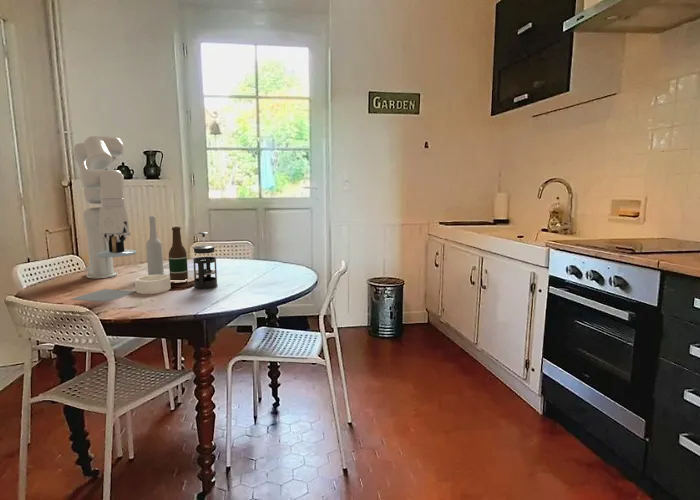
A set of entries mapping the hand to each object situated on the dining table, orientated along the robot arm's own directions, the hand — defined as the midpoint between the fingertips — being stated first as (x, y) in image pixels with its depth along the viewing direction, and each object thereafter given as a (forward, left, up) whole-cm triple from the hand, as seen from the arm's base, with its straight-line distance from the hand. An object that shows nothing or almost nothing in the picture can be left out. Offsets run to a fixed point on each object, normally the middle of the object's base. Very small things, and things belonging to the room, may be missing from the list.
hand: (116, 251), depth 172 cm
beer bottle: (+7, +26, -17) cm, 32 cm away
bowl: (+8, +8, -17) cm, 21 cm away
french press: (+24, +20, -17) cm, 36 cm away
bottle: (-8, +30, -17) cm, 36 cm away
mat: (-4, -4, -17) cm, 18 cm away
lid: (0, 0, -1) cm, 1 cm away
